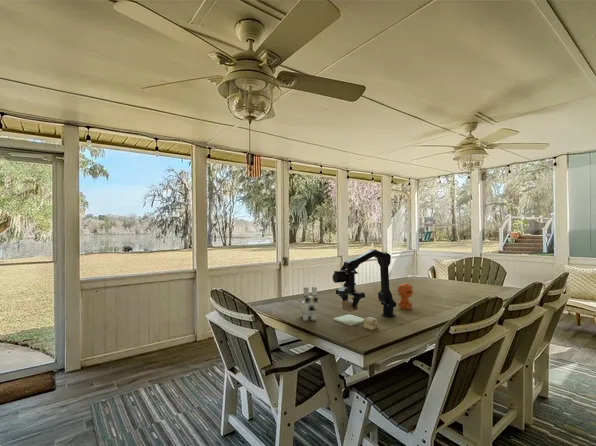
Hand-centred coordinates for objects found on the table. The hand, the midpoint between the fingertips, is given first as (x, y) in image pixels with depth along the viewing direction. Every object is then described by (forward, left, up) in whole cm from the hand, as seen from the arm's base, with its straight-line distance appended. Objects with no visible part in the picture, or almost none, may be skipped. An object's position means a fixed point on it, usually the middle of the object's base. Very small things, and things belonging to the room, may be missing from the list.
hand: (350, 307), depth 186 cm
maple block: (+1, +16, -8) cm, 18 cm away
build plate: (0, 0, -8) cm, 8 cm away
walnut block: (0, 0, -1) cm, 1 cm away
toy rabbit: (+17, -18, -8) cm, 26 cm away
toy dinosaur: (-51, +5, -8) cm, 52 cm away
